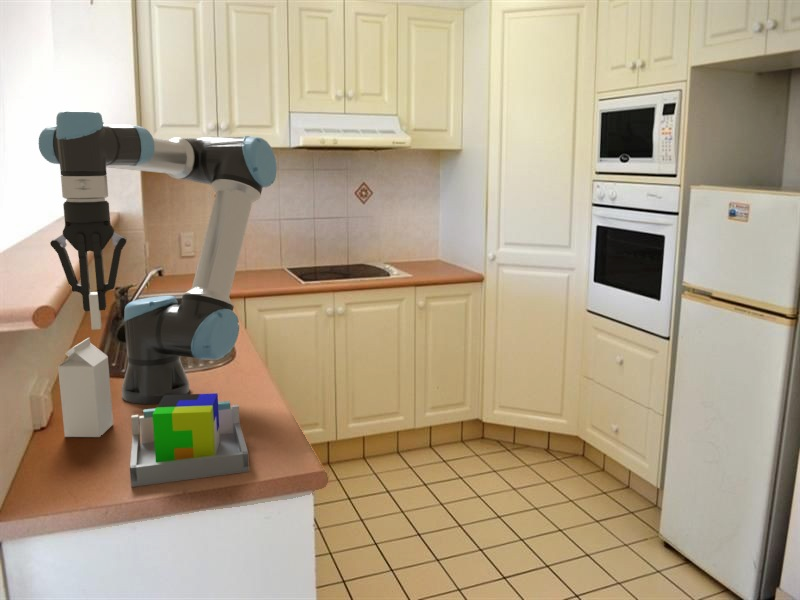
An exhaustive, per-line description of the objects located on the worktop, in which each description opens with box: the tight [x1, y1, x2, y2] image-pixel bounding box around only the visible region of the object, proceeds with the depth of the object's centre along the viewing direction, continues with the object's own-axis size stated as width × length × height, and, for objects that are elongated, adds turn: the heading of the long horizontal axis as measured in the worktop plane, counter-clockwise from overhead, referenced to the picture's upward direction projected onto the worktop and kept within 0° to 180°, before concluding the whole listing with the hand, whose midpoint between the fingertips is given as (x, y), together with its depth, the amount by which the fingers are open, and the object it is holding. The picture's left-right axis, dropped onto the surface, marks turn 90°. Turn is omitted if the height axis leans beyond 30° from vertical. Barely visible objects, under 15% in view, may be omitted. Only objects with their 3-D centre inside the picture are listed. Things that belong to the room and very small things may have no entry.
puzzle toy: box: [153, 393, 220, 463], centre depth 132 cm, size 10×10×10 cm
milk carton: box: [57, 337, 114, 438], centre depth 144 cm, size 7×7×19 cm
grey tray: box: [129, 404, 250, 488], centre depth 132 cm, size 16×20×7 cm
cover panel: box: [139, 400, 233, 444], centre depth 141 cm, size 1×18×7 cm, turn 109°
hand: (96, 327), depth 132 cm, fingers closed
